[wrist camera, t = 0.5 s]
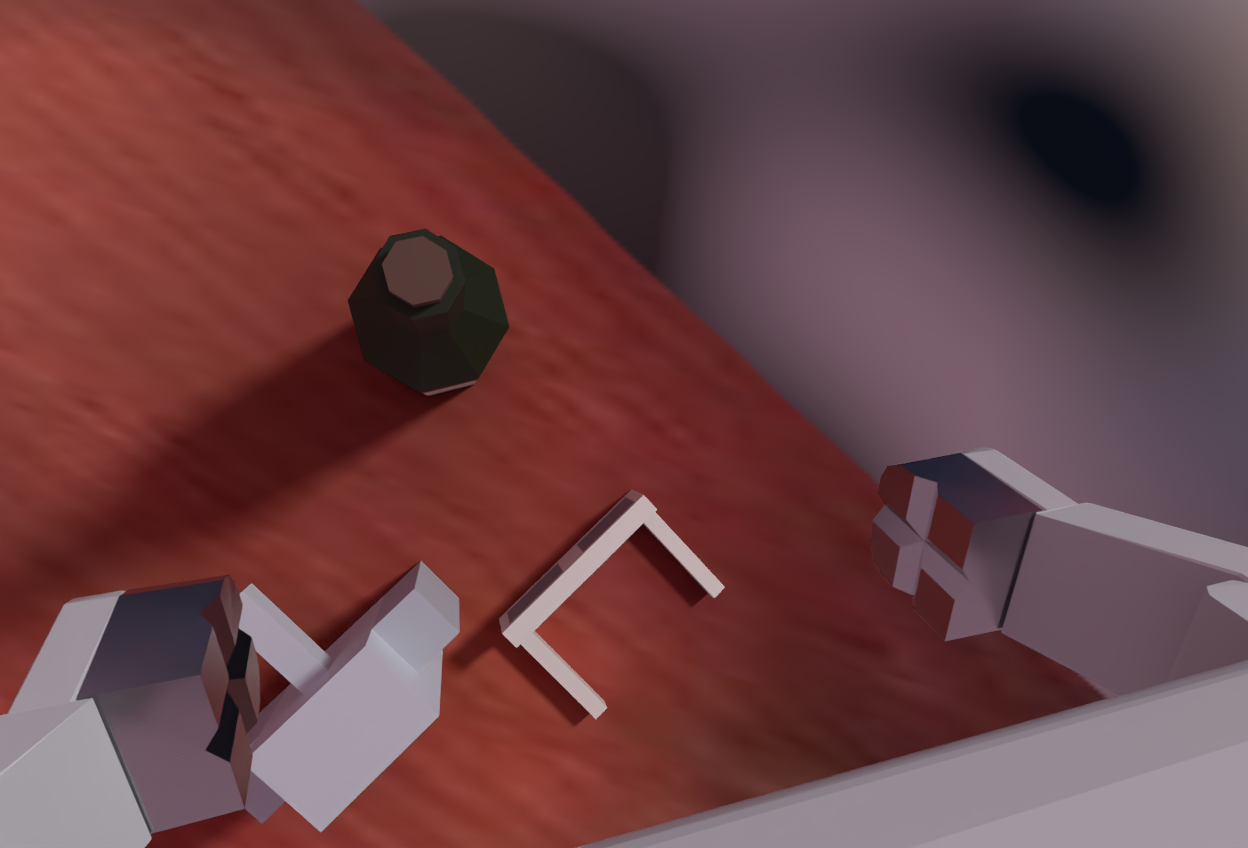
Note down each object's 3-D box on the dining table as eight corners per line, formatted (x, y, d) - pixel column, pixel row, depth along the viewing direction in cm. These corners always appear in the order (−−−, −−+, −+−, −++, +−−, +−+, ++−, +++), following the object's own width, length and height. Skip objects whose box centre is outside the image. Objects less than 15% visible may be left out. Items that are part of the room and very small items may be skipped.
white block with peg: (477, 616, 58) (483, 672, 46) (313, 776, 56) (273, 879, 44) (352, 492, 56) (323, 516, 44) (176, 653, 54) (94, 725, 42)
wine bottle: (486, 404, 58) (517, 401, 29) (371, 388, 56) (278, 367, 27) (502, 293, 58) (548, 179, 29) (387, 274, 56) (311, 130, 27)
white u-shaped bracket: (718, 583, 62) (736, 594, 58) (592, 711, 60) (601, 732, 56) (631, 489, 61) (643, 494, 57) (498, 618, 59) (501, 633, 55)
